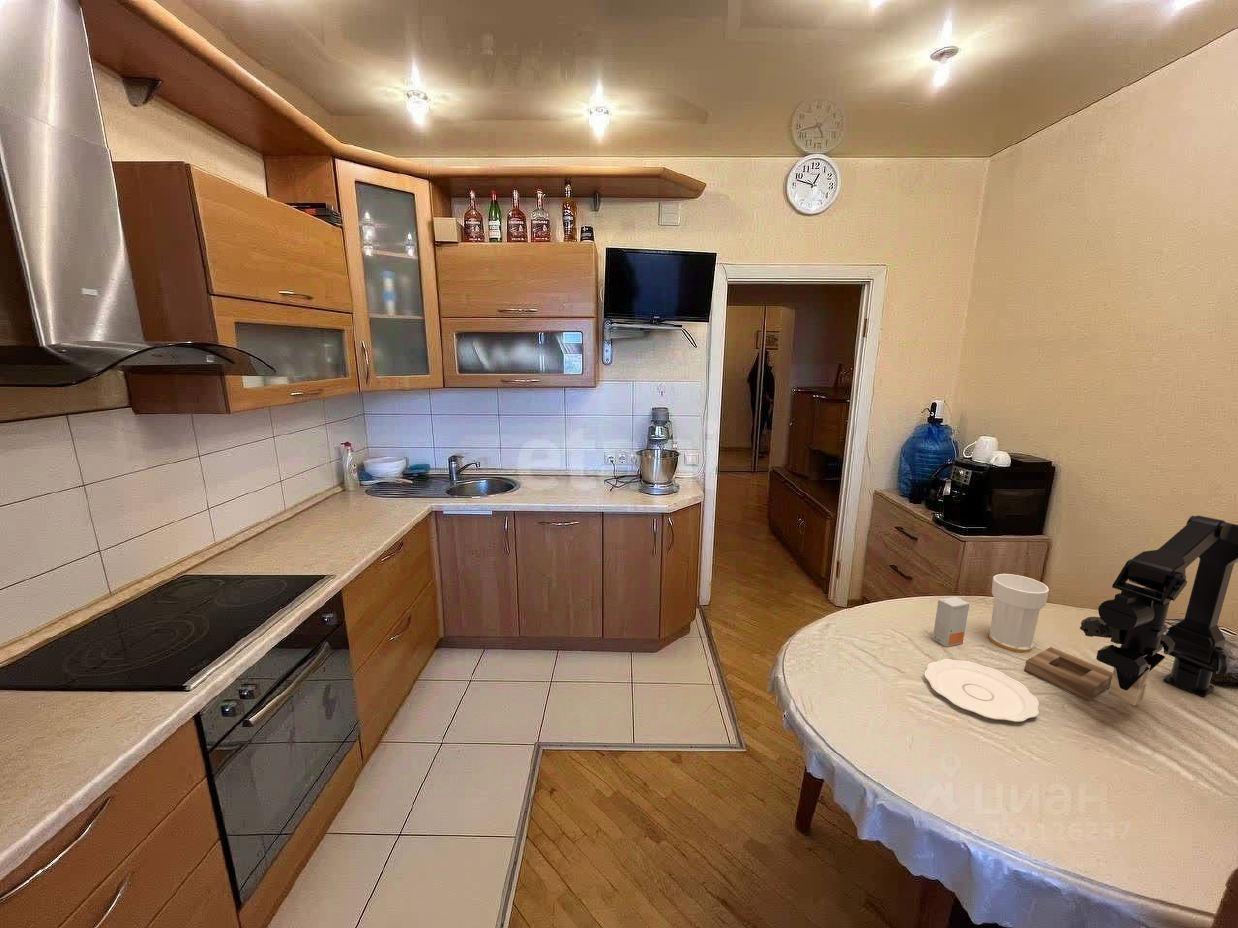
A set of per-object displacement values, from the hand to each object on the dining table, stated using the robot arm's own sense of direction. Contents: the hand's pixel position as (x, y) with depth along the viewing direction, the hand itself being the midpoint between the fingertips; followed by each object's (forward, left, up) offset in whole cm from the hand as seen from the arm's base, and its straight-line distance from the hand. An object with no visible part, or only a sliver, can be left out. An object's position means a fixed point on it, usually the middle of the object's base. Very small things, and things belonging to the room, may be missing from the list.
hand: (1127, 685), depth 100 cm
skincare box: (+4, -33, -7) cm, 34 cm away
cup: (-10, -25, -7) cm, 28 cm away
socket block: (-5, -11, -7) cm, 14 cm away
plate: (+19, -18, -8) cm, 27 cm away
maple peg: (0, 0, -3) cm, 3 cm away
